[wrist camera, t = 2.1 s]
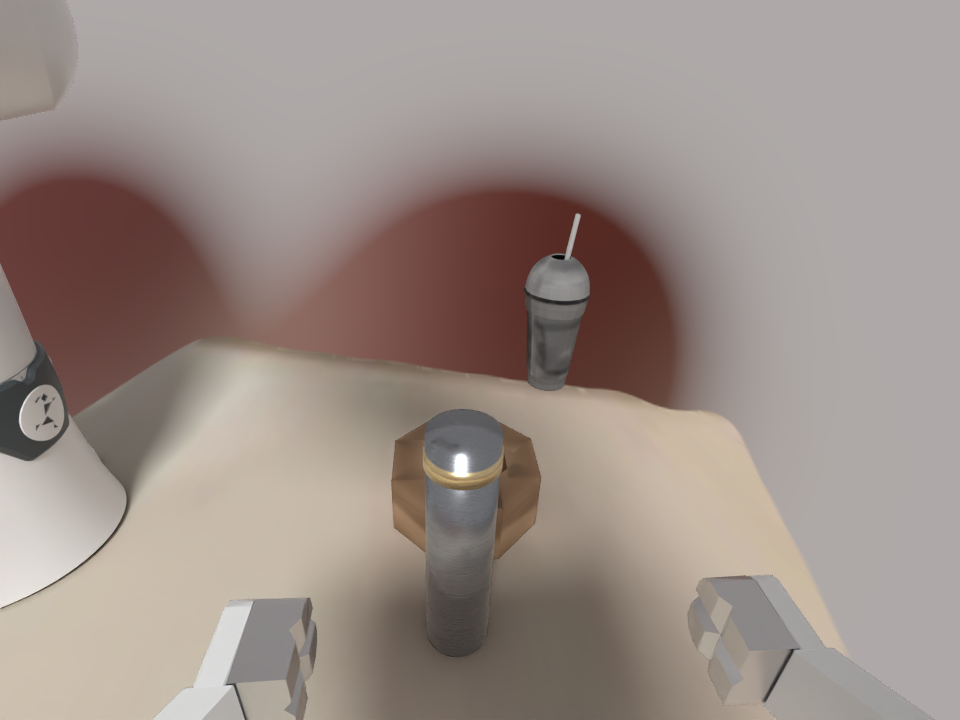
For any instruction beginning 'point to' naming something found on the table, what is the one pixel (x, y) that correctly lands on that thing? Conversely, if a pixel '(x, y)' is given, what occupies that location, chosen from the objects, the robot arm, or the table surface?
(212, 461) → the table surface
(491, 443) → the gold-banded metal cylinder
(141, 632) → the table surface
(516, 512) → the wooden octagonal ring
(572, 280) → the beverage cup
